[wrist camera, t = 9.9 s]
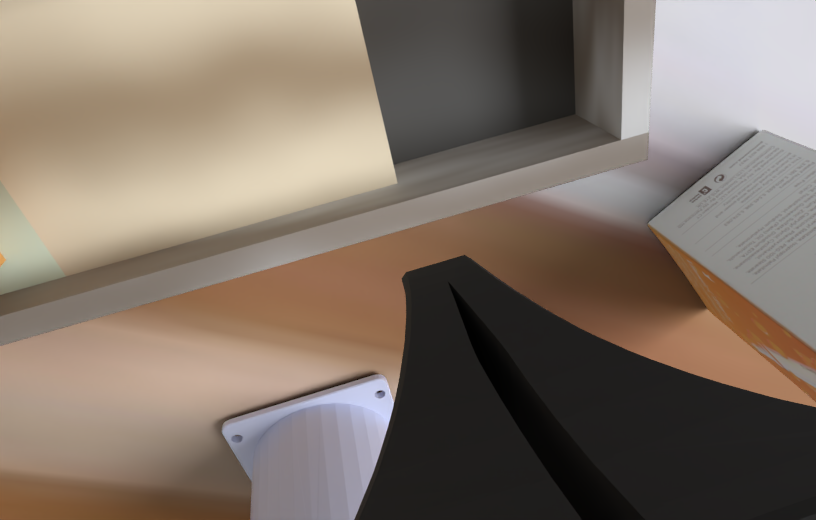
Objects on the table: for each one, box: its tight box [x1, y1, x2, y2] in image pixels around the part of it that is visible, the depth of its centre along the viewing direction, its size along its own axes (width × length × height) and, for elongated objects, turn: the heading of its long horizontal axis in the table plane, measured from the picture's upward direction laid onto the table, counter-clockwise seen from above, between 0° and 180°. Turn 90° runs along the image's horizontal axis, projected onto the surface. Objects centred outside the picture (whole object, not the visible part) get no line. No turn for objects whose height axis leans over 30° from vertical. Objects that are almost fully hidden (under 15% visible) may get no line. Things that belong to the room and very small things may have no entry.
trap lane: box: [0, 0, 656, 346], centre depth 16 cm, size 10×36×4 cm, turn 102°
